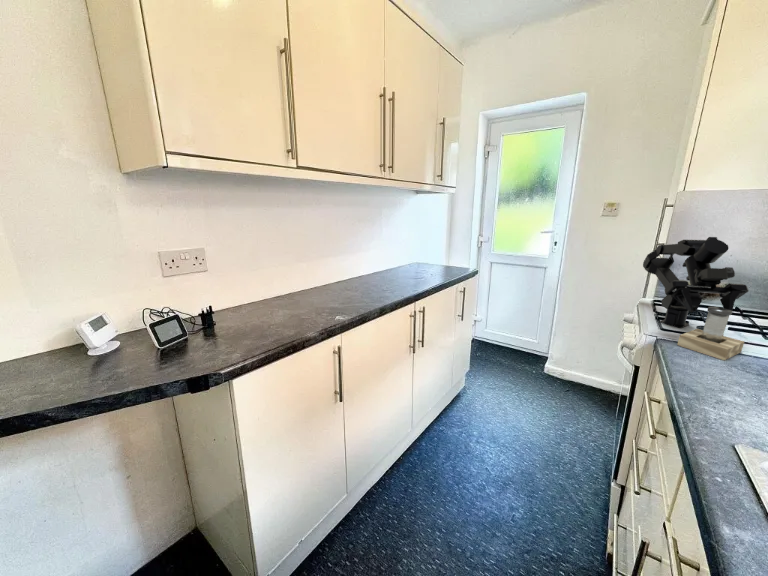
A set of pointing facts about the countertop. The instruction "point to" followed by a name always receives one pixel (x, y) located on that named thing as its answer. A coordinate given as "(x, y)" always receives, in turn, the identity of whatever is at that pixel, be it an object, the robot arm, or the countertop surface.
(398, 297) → the countertop surface
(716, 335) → the capped cylinder
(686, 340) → the housing
